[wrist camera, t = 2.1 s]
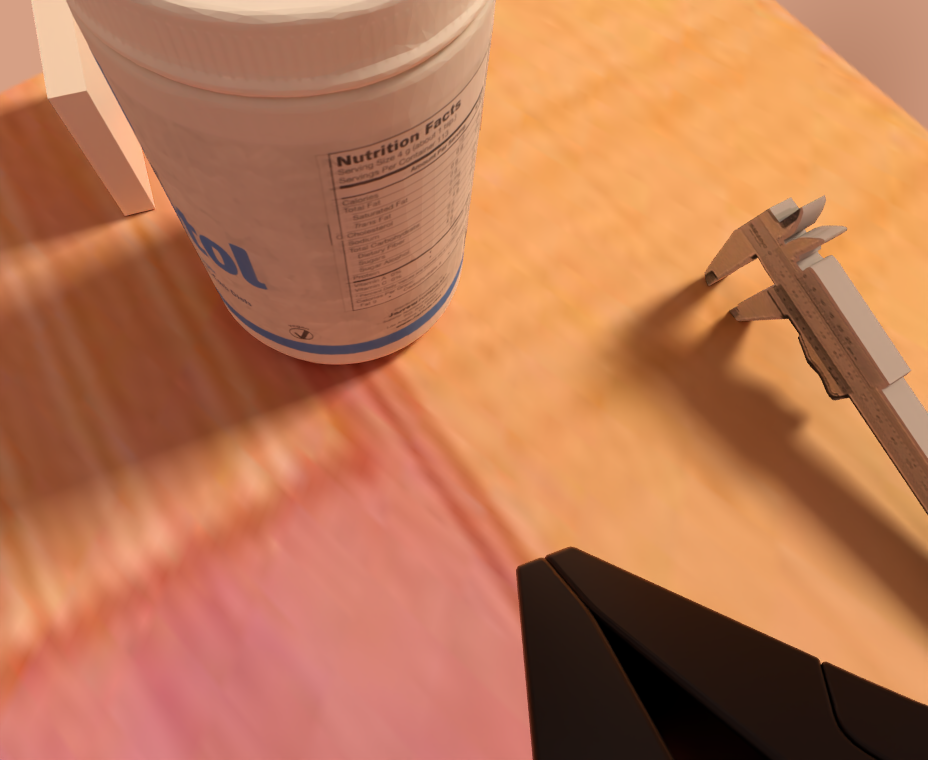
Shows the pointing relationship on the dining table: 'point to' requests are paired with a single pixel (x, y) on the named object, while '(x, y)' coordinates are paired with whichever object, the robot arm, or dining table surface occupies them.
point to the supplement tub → (309, 153)
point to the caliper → (831, 328)
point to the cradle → (91, 107)
